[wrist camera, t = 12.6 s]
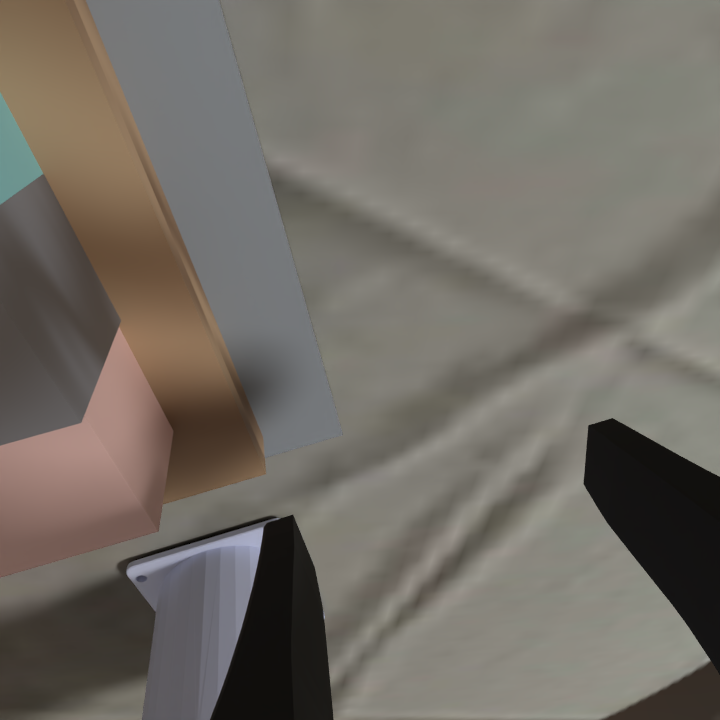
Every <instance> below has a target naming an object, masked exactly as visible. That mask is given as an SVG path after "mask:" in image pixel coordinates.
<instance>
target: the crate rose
mask: <svg viewBox="0 0 720 720" xmlns="http://www.w3.org/2000/svg"><path fill="white" fill-rule="evenodd" d="M172 438H173V429H172V427H171V425H170V424H169V422H168V420H167V418H166V416H165V414H164V412H163V410H162V408H161V406H160V404H159V403H158V401H157V399H156V397H155V395H154V393H153V391H152V389H151V387H150V385H149V383H148V381H147V380H146V378H145V376H144V374H143V372H142V370H141V368H140V366H139V364H138V362H137V360H136V358H135V357H134V355H133V353H132V351H131V349H130V347H129V345H128V343H127V341H126V339H125V337H124V335H123V334H122V332H121V330H120V328H118V331H117V333H116V336H115V338H114V341H113V343H112V346H111V348H110V351H109V354H108V356H107V359H106V361H105V364H104V366H103V369H102V371H101V374H100V377H99V379H98V382H97V384H96V387H95V389H94V392H93V394H92V397H91V399H90V402H89V405H88V407H87V410H86V412H85V415H84V417H83V420H82V422H81V423H79V424H76V425H72V426H68V427H65V428H61V429H58V430H54V431H51V432H47V433H43V434H40V435H36V436H33V437H29V438H26V439H22V440H19V441H15V442H11V443H8V444H4V445H1V446H0V577H4V576H7V575H11V574H14V573H18V572H21V571H24V570H28V569H31V568H35V567H38V566H42V565H45V564H48V563H52V562H55V561H59V560H62V559H66V558H69V557H72V556H76V555H79V554H83V553H86V552H90V551H93V550H97V549H100V548H103V547H107V546H110V545H114V544H117V543H121V542H124V541H127V540H131V539H134V538H138V537H141V536H145V535H148V534H151V533H155V532H158V531H159V525H160V519H161V512H162V505H163V499H164V492H165V485H166V478H167V472H168V465H169V458H170V452H171V445H172Z"/></svg>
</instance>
